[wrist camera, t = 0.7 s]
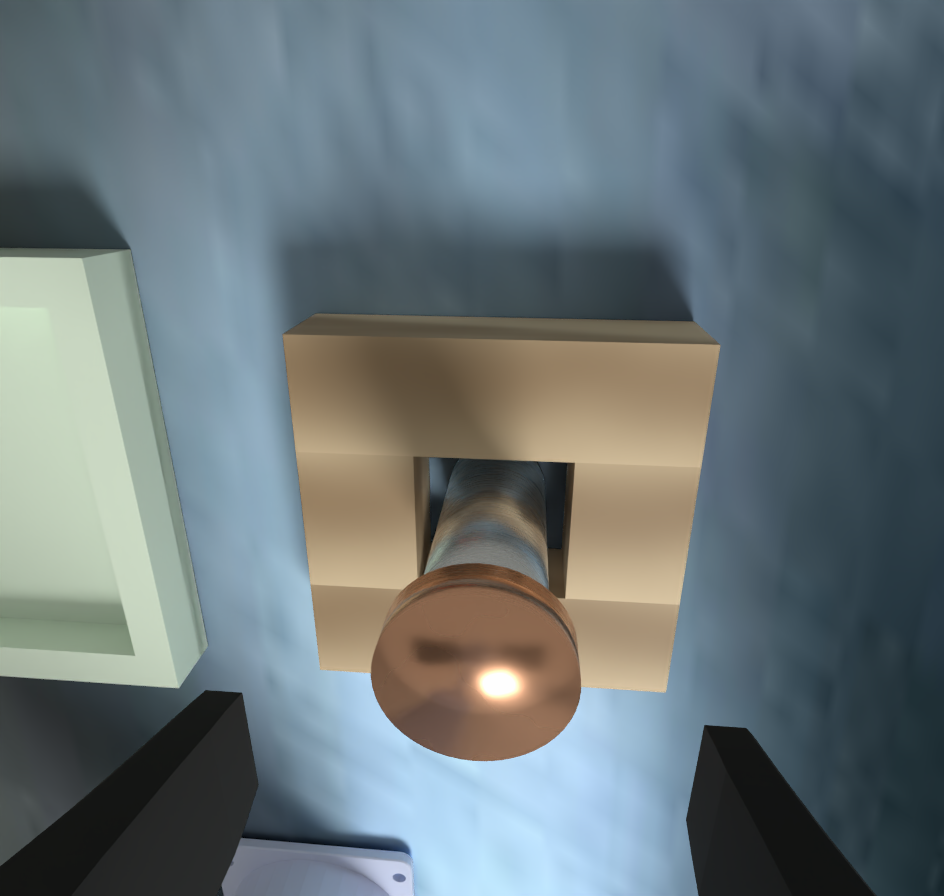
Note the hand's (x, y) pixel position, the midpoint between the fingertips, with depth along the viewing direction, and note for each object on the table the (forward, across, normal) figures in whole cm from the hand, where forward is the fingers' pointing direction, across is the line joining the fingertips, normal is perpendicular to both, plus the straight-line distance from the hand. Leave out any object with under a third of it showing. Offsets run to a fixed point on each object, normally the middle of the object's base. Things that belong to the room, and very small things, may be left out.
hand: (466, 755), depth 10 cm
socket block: (+10, 0, 0) cm, 10 cm away
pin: (+10, 0, 0) cm, 10 cm away
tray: (+10, +15, 0) cm, 18 cm away
